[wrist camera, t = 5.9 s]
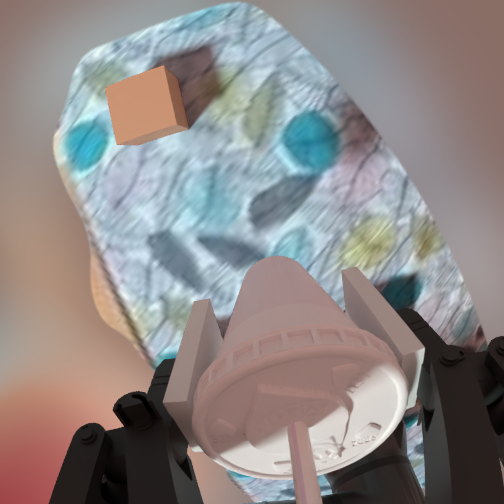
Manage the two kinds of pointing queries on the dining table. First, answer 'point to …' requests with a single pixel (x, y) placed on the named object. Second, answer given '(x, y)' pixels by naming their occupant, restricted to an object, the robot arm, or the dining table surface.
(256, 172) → the dining table surface
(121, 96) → the terracotta block
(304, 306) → the smoothie
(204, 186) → the dining table surface
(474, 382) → the robot arm
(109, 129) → the dining table surface
